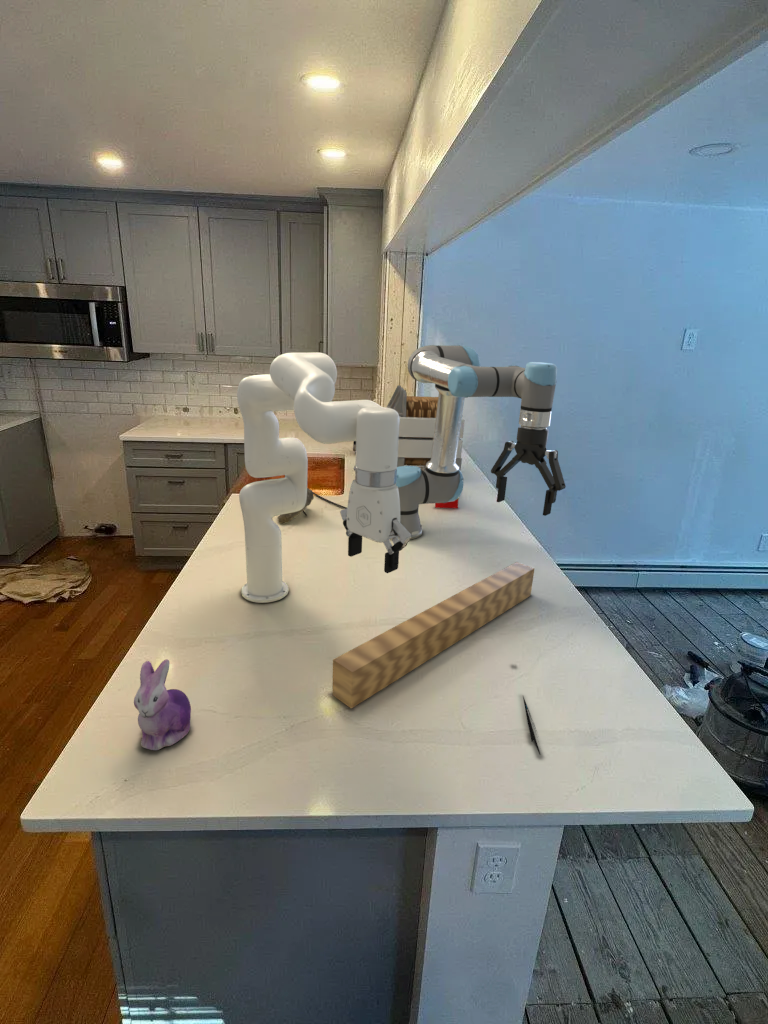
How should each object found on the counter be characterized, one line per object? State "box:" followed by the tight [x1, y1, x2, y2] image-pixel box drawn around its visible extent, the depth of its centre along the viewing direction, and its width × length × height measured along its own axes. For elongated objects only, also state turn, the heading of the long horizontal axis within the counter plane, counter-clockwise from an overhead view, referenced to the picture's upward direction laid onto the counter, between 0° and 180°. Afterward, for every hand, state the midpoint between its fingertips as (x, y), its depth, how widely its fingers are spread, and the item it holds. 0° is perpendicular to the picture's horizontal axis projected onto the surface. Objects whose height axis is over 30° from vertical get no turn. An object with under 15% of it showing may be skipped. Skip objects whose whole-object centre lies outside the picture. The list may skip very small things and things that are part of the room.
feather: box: [513, 664, 541, 755], centre depth 114 cm, size 2×28×2 cm
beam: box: [331, 561, 535, 709], centre depth 136 cm, size 70×6×9 cm, turn 137°
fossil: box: [277, 487, 315, 524], centre depth 211 cm, size 22×10×15 cm
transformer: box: [386, 384, 465, 472], centre depth 268 cm, size 34×33×41 cm
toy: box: [434, 497, 460, 509], centre depth 239 cm, size 12×13×30 cm
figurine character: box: [352, 441, 356, 455], centre depth 308 cm, size 7×8×15 cm
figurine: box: [133, 658, 192, 751], centre depth 101 cm, size 9×10×15 cm
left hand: (372, 562), depth 108 cm, fingers open, 9 cm apart
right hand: (522, 507), depth 148 cm, fingers open, 13 cm apart
